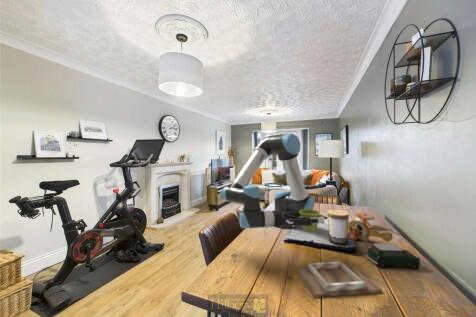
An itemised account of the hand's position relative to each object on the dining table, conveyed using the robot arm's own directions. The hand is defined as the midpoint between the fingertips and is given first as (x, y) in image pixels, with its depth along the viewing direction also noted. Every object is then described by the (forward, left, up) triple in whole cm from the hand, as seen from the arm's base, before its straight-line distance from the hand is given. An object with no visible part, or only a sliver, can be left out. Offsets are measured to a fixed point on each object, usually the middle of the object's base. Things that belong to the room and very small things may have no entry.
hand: (318, 216), depth 94 cm
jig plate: (+6, -19, -18) cm, 27 cm away
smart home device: (+2, +55, -19) cm, 58 cm away
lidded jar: (+26, +50, -18) cm, 59 cm away
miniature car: (+29, +3, -18) cm, 35 cm away
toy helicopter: (+23, +25, -18) cm, 38 cm away
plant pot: (-4, -2, -6) cm, 8 cm away
